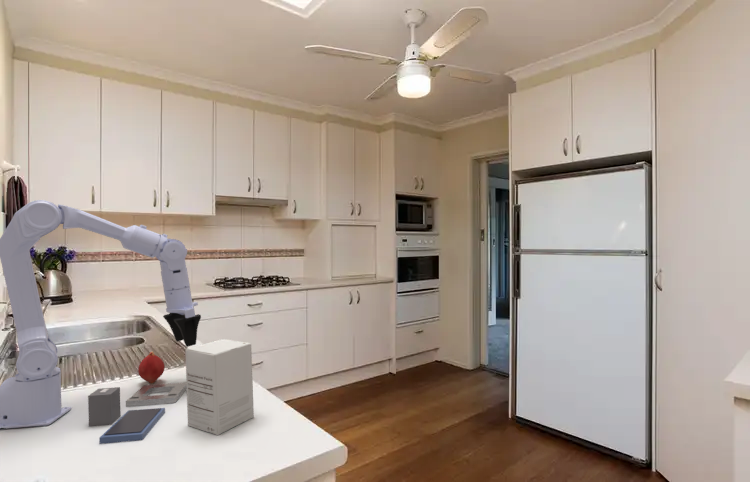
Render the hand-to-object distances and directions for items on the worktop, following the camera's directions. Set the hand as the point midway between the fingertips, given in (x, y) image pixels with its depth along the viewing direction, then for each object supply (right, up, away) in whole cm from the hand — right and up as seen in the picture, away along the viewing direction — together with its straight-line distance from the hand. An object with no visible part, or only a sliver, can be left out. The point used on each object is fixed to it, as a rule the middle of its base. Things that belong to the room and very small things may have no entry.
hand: (186, 342), depth 101 cm
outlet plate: (-3, -11, -6) cm, 13 cm away
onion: (-10, -11, +3) cm, 15 cm away
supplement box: (+16, -11, -20) cm, 28 cm away
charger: (-7, -11, -19) cm, 23 cm away
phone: (0, -11, -22) cm, 25 cm away
